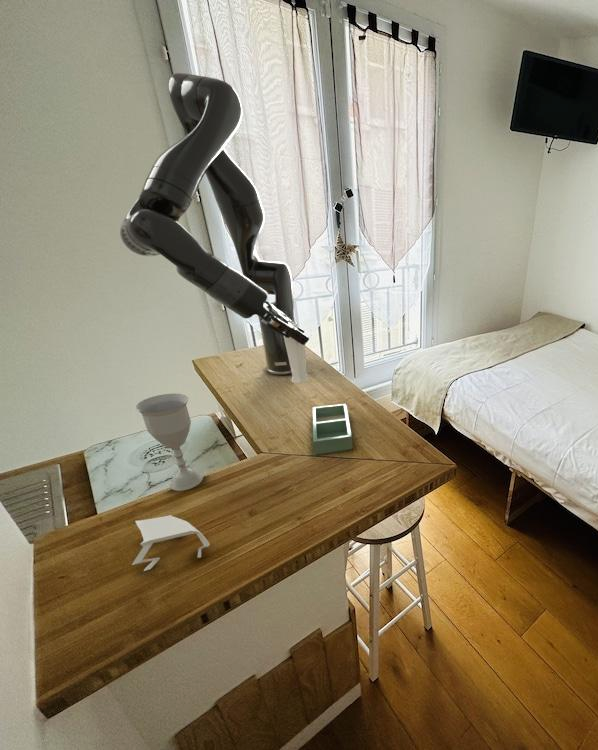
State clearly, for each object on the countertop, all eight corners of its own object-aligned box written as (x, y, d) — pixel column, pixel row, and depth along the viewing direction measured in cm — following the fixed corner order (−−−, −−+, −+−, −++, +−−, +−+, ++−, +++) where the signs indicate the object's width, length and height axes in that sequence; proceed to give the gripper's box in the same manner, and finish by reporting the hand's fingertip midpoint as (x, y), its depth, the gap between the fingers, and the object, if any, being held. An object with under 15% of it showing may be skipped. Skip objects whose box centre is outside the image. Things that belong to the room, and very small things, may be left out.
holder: (313, 419, 101) (312, 407, 100) (347, 415, 104) (346, 403, 103) (314, 454, 89) (313, 441, 87) (352, 449, 92) (351, 436, 90)
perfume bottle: (313, 377, 102) (307, 321, 95) (304, 384, 98) (297, 327, 91) (296, 374, 102) (289, 319, 96) (286, 382, 98) (278, 324, 92)
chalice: (159, 498, 73) (130, 415, 66) (166, 475, 79) (140, 396, 71) (207, 488, 77) (185, 408, 69) (211, 467, 82) (191, 391, 74)
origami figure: (113, 578, 59) (102, 555, 57) (147, 533, 66) (139, 511, 64) (204, 570, 61) (197, 548, 59) (227, 528, 69) (221, 507, 67)
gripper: (253, 287, 79) (322, 336, 91) (244, 271, 89) (307, 317, 101) (226, 315, 79) (299, 360, 91) (221, 296, 89) (287, 339, 101)
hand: (303, 337), depth 96 cm, fingers closed on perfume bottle, 4 cm apart
